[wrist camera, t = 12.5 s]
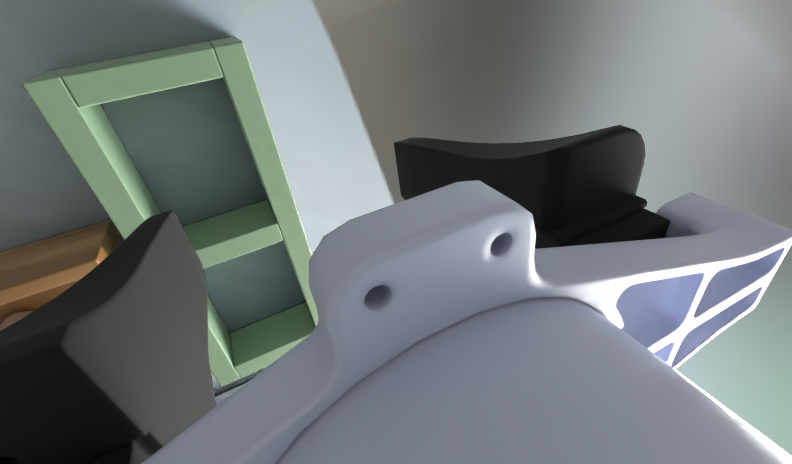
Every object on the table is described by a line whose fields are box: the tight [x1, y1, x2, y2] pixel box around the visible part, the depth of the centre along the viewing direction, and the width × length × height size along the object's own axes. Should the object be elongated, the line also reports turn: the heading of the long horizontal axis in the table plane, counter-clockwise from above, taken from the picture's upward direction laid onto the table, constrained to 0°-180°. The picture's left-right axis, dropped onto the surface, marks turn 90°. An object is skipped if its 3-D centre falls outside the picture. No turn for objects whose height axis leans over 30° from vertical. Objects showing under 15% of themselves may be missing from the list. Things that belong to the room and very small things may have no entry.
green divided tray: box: [22, 37, 318, 387], centre depth 21 cm, size 18×8×3 cm, turn 9°
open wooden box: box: [0, 220, 124, 325], centre depth 20 cm, size 11×10×4 cm
